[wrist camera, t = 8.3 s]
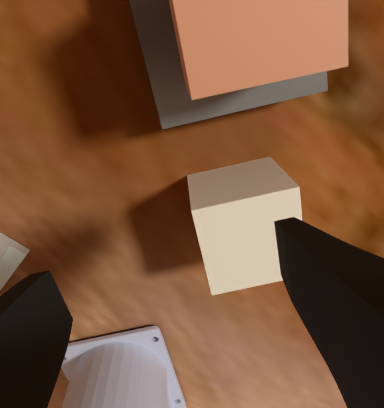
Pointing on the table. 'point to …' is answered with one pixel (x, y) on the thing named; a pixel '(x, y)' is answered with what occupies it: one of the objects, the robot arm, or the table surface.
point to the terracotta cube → (257, 41)
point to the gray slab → (174, 79)
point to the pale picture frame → (10, 257)
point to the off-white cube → (241, 221)
